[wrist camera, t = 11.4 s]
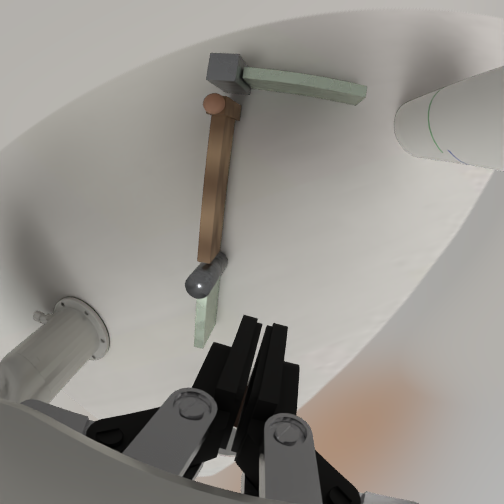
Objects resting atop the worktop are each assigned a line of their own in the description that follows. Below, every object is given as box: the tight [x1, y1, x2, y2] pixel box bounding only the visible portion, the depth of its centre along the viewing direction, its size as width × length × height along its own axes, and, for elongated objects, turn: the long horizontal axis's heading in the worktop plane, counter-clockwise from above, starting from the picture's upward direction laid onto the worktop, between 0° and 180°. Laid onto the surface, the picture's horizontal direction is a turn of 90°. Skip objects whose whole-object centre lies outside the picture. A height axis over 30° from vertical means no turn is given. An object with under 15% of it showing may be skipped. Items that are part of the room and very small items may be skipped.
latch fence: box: [206, 53, 367, 106], centre depth 28 cm, size 15×3×8 cm, turn 82°
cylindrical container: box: [394, 66, 504, 171], centre depth 19 cm, size 7×7×25 cm
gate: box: [197, 93, 241, 264], centre depth 32 cm, size 17×2×9 cm, turn 172°
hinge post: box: [185, 251, 228, 349], centre depth 38 cm, size 3×11×8 cm, turn 172°
